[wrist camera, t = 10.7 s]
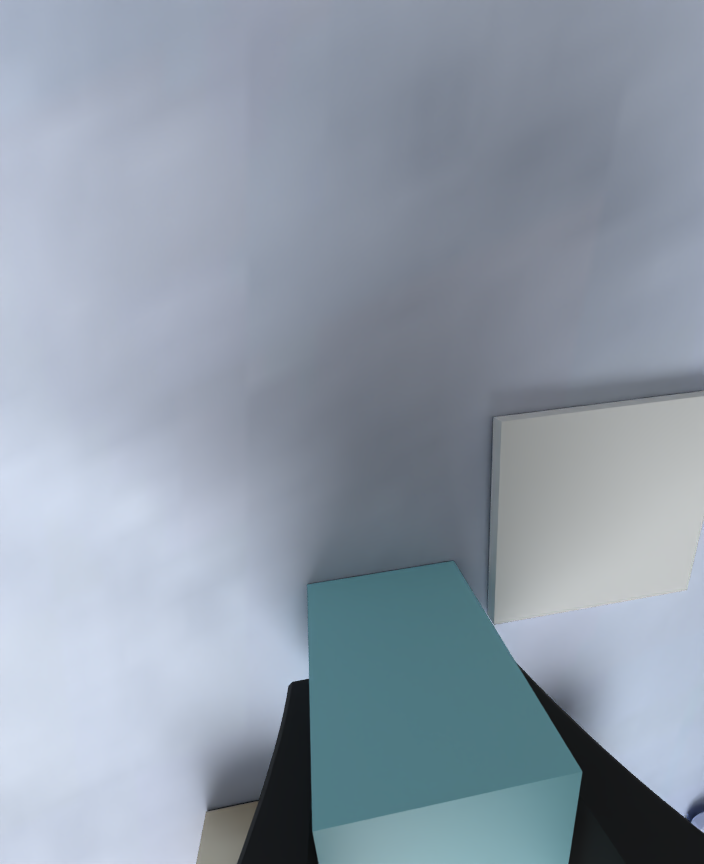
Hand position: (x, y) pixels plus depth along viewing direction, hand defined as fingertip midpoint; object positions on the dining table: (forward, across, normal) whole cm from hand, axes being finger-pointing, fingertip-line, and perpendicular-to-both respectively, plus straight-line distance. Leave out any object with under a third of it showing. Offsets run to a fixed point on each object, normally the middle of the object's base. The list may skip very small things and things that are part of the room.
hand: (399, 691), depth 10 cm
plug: (+1, 0, +2) cm, 3 cm away
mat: (+1, -6, -4) cm, 7 cm away
